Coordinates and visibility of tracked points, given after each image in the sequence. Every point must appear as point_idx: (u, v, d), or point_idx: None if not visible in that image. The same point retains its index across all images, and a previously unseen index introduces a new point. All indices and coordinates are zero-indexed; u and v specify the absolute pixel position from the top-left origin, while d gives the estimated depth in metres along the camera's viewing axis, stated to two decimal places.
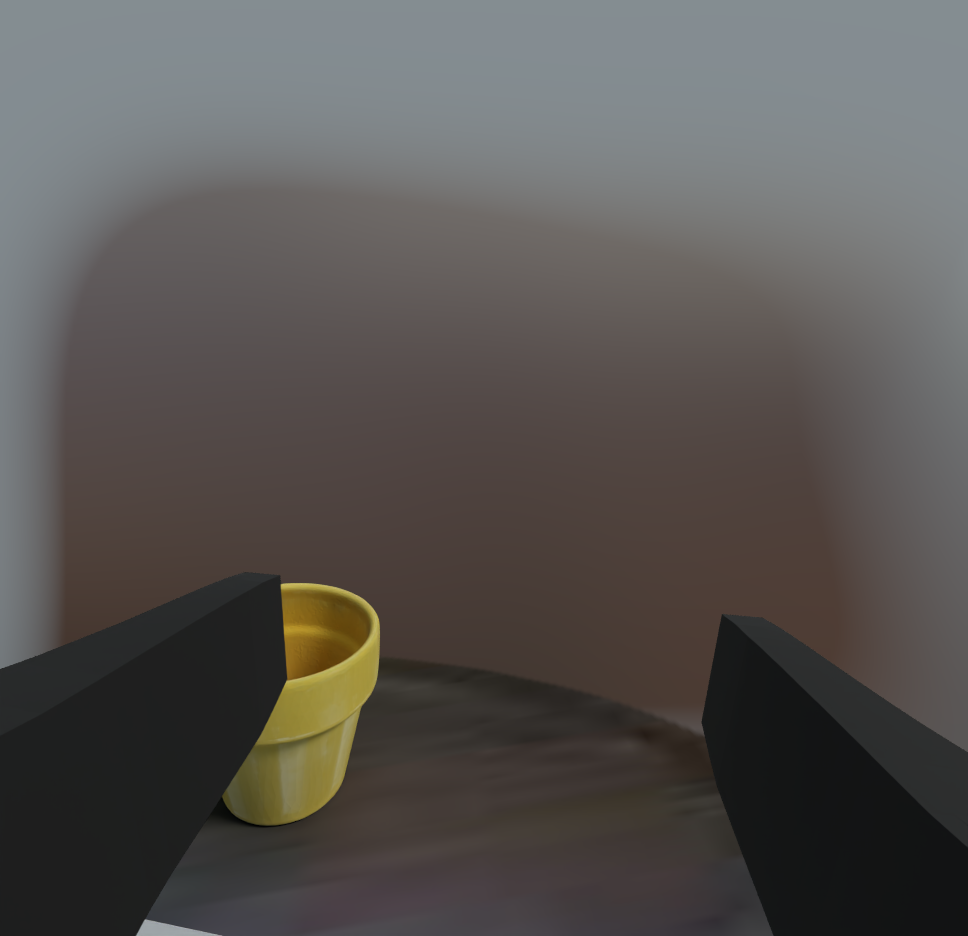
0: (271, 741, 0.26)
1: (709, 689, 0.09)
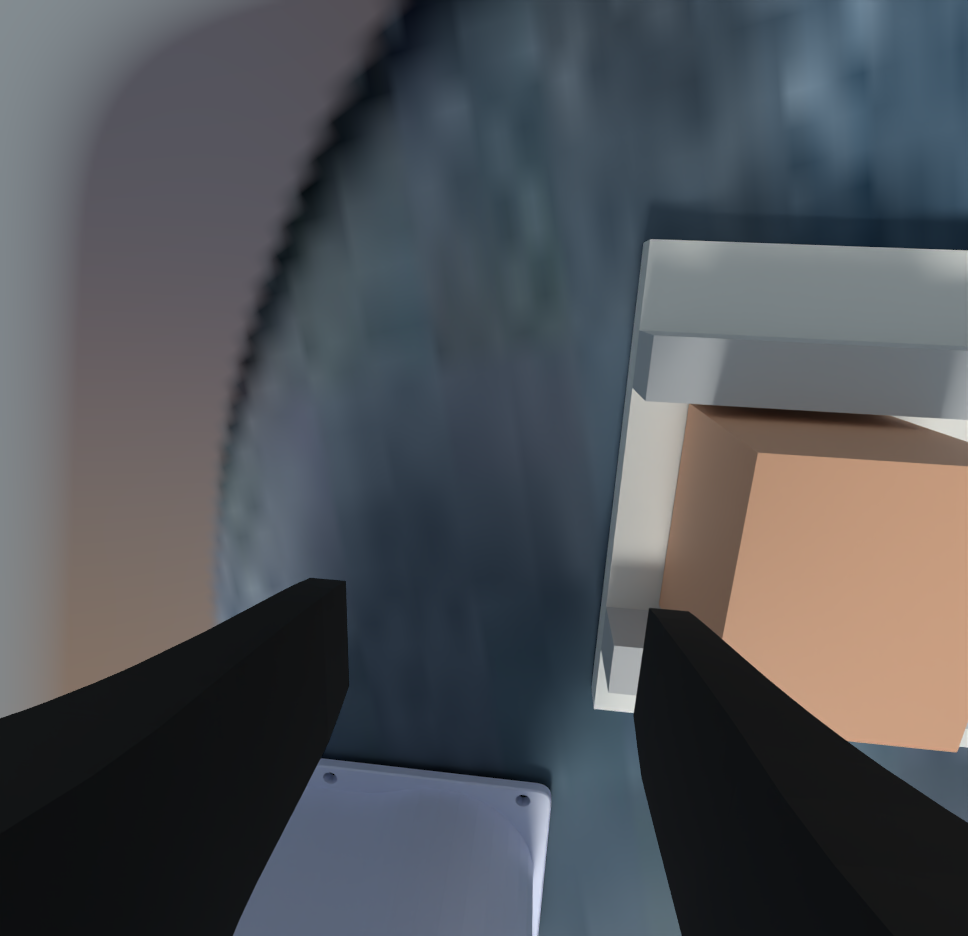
0: None
1: (639, 682, 0.09)
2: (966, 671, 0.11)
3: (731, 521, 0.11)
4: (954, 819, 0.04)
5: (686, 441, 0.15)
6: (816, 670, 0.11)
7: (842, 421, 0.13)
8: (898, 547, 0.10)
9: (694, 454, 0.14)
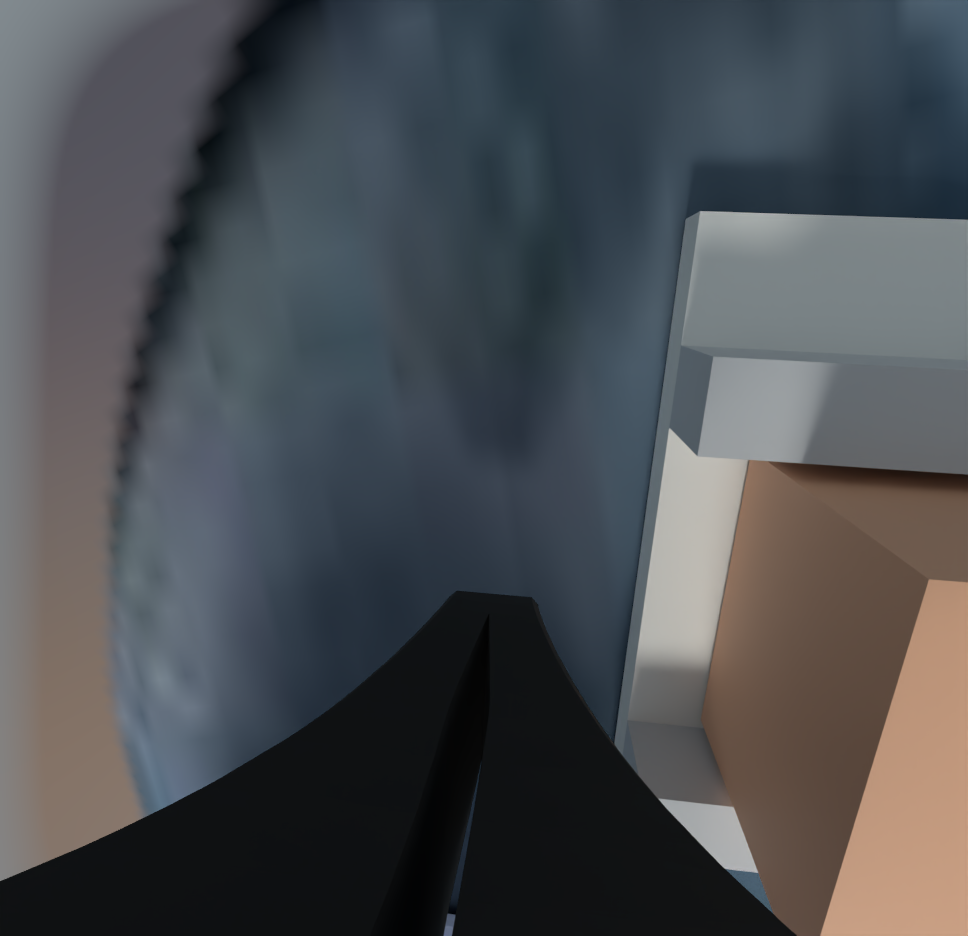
0: None
1: None
2: None
3: (857, 674, 0.07)
4: (632, 783, 0.04)
5: (747, 504, 0.10)
6: None
7: None
8: None
9: (764, 529, 0.10)
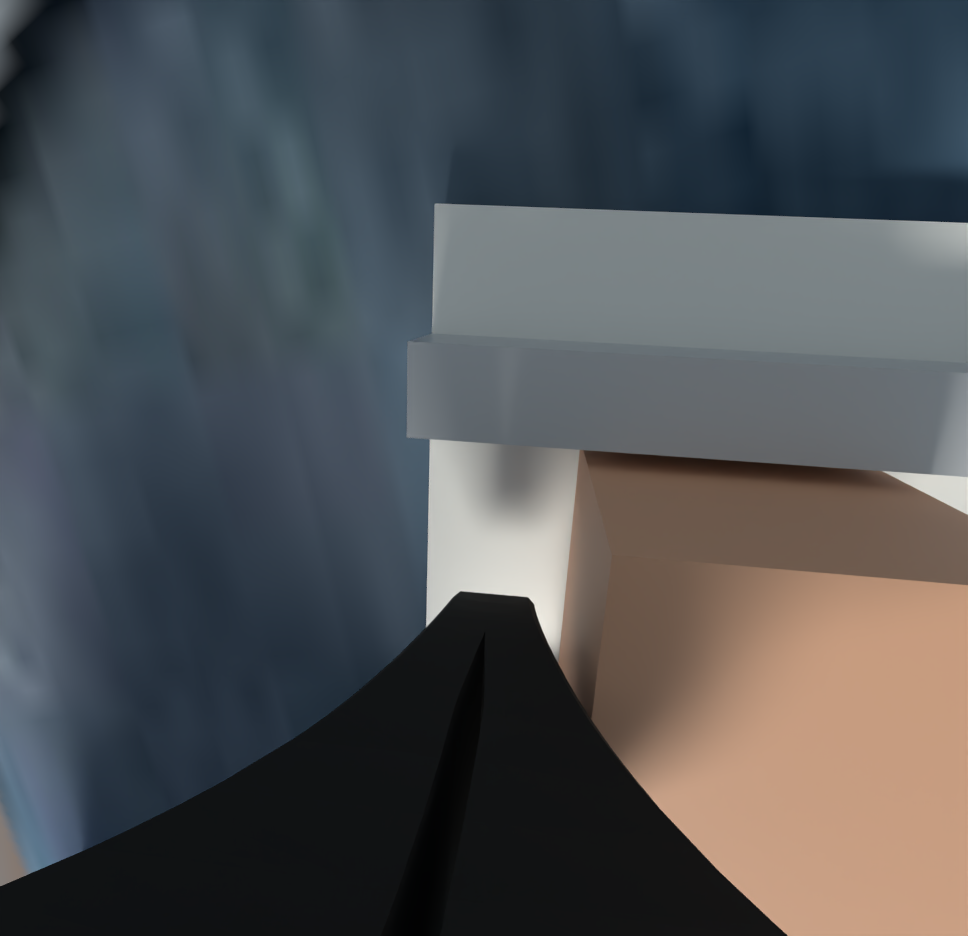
0: None
1: None
2: None
3: (591, 648, 0.07)
4: (625, 782, 0.04)
5: (576, 493, 0.11)
6: None
7: (787, 473, 0.09)
8: (856, 712, 0.06)
9: (578, 516, 0.10)
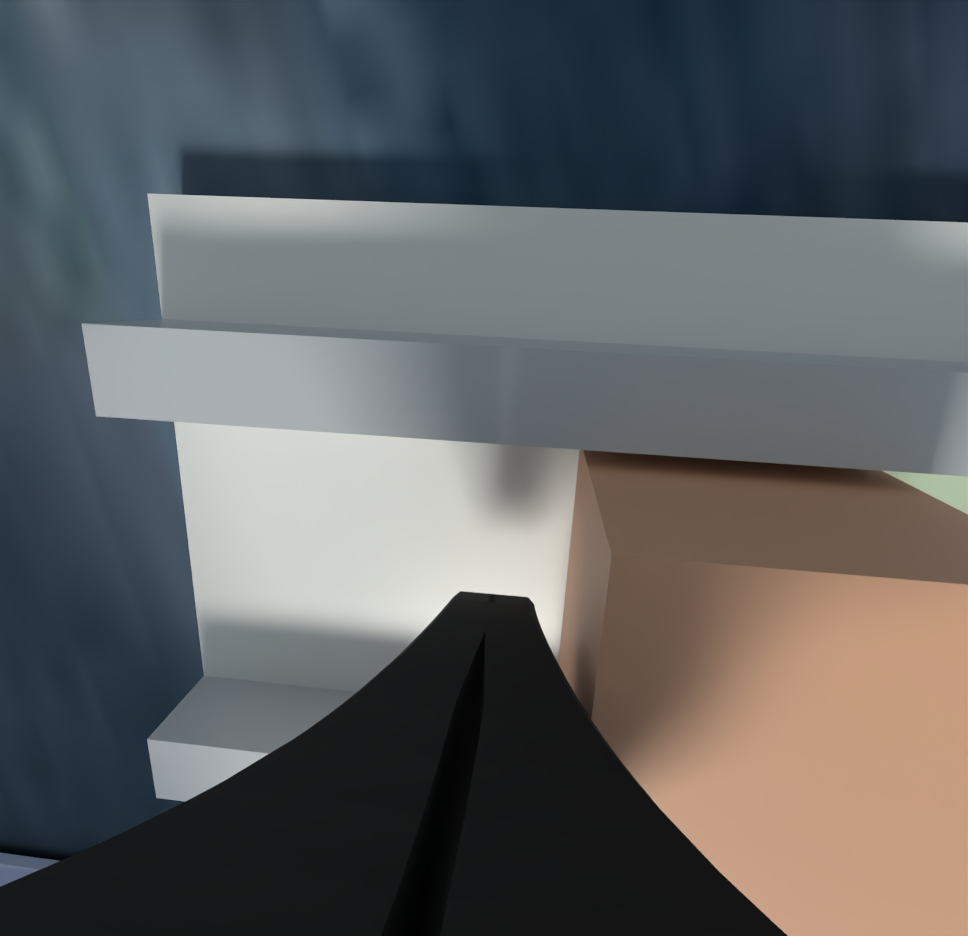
0: None
1: None
2: (967, 900, 0.07)
3: (591, 649, 0.07)
4: (625, 782, 0.04)
5: (576, 493, 0.11)
6: None
7: (787, 473, 0.09)
8: (855, 711, 0.06)
9: (578, 516, 0.10)
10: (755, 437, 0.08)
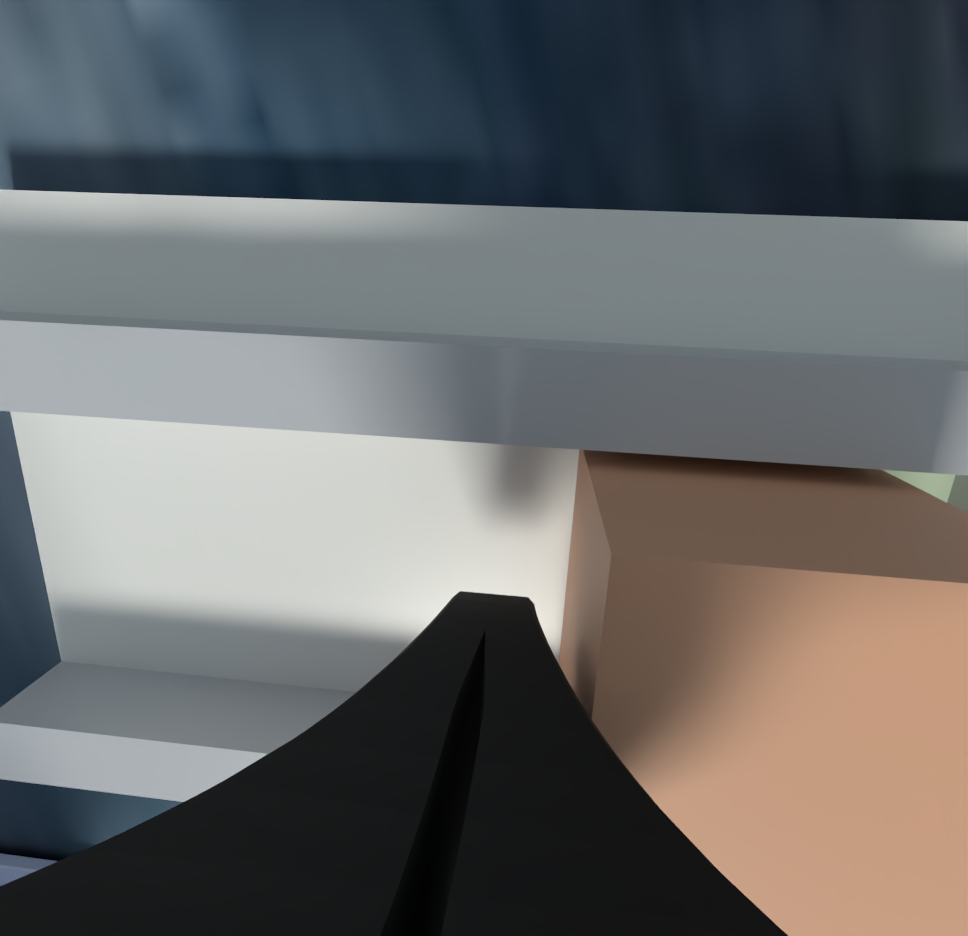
0: None
1: None
2: None
3: (591, 648, 0.07)
4: (626, 782, 0.04)
5: (576, 493, 0.11)
6: None
7: (787, 472, 0.09)
8: (855, 710, 0.06)
9: (578, 516, 0.10)
10: (515, 421, 0.09)
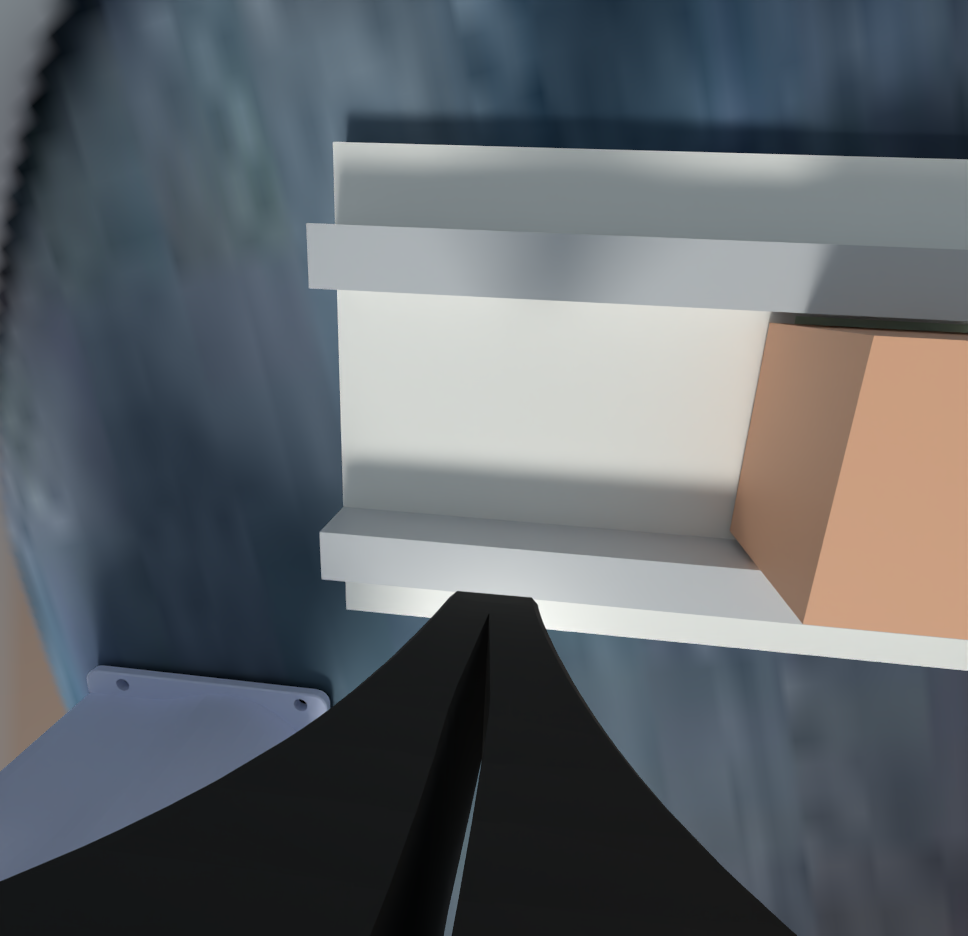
0: None
1: None
2: None
3: (836, 414, 0.11)
4: (633, 783, 0.04)
5: (766, 361, 0.15)
6: (919, 563, 0.11)
7: (931, 332, 0.13)
8: None
9: (778, 369, 0.14)
10: (749, 293, 0.13)
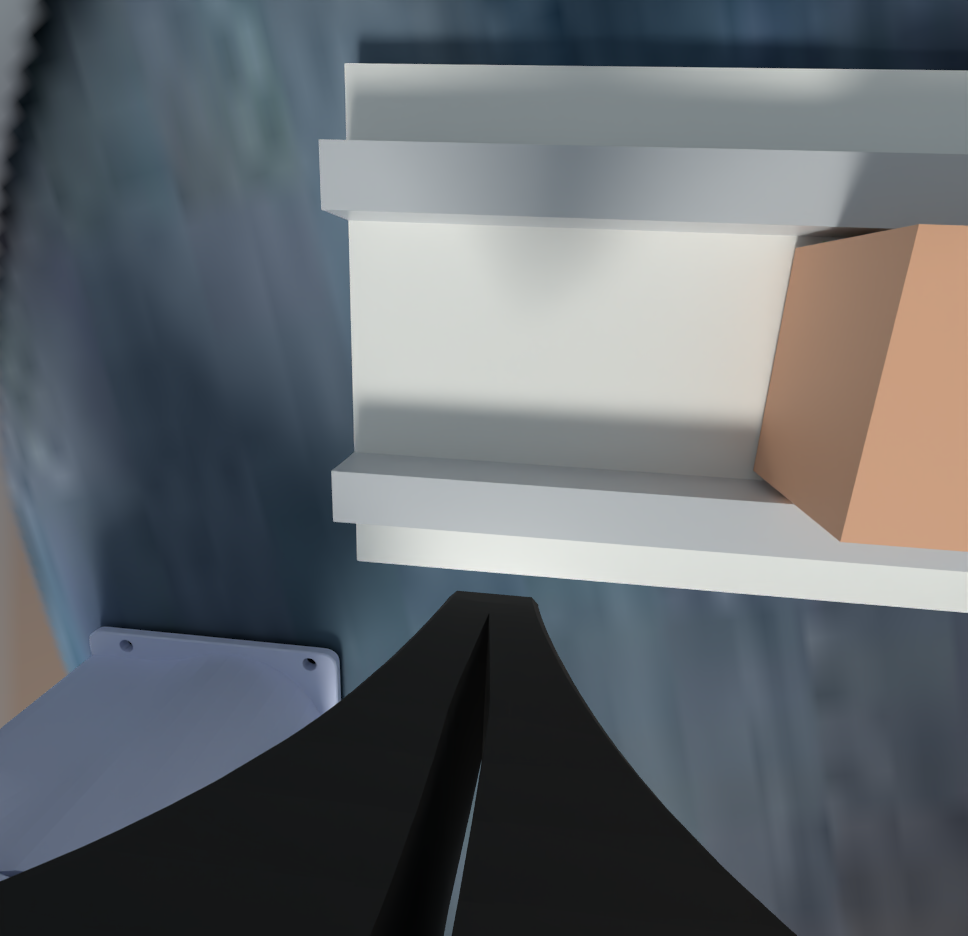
0: None
1: None
2: None
3: (875, 317, 0.11)
4: (632, 782, 0.04)
5: (792, 287, 0.15)
6: (962, 473, 0.11)
7: None
8: None
9: (807, 291, 0.14)
10: (779, 206, 0.13)
